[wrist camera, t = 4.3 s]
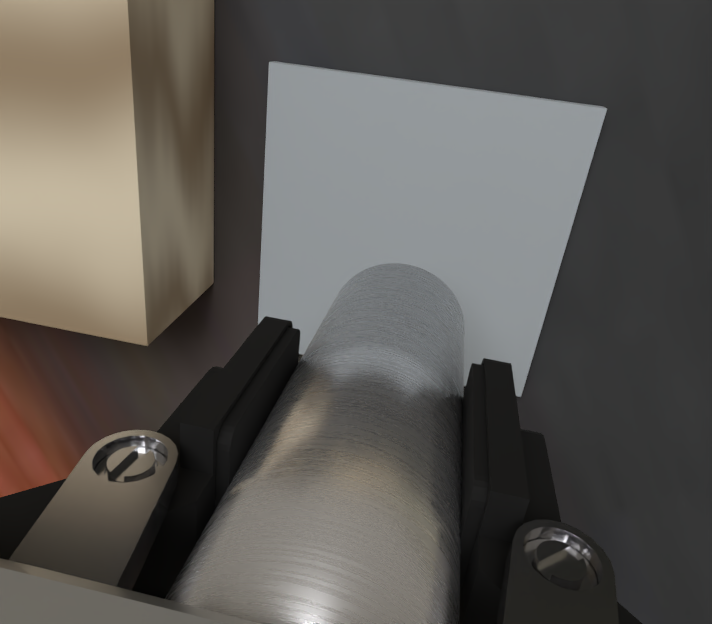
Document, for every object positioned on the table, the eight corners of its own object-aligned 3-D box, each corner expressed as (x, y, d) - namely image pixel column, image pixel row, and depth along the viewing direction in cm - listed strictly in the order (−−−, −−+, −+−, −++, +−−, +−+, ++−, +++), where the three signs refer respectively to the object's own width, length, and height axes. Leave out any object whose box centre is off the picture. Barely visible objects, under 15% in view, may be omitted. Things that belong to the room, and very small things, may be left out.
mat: (519, 388, 21) (520, 396, 21) (262, 338, 22) (257, 345, 22) (602, 106, 17) (606, 108, 16) (275, 61, 18) (268, 62, 17)
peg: (450, 396, 16) (407, 1134, 5) (324, 371, 16) (30, 998, 5) (477, 276, 14) (502, 960, 3) (338, 252, 15) (-36, 790, 4)
